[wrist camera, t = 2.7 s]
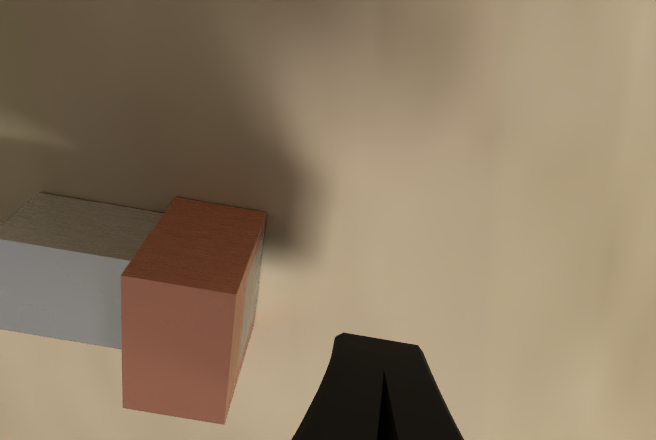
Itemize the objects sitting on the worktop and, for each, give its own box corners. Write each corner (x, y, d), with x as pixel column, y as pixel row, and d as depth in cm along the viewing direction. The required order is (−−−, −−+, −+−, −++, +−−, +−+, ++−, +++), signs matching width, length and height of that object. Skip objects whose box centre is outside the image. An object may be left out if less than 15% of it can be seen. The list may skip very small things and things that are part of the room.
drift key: (253, 325, 13) (224, 424, 11) (47, 291, 13) (-29, 382, 11) (266, 212, 12) (236, 294, 9) (37, 174, 12) (-54, 246, 9)
